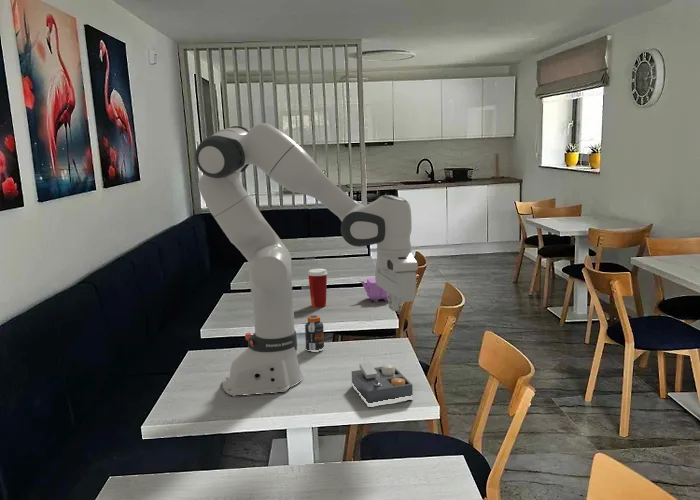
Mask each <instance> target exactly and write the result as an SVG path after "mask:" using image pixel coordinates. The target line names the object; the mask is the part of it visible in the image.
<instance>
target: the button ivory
mask: <svg viewBox="0 0 700 500" xmlns="http://www.w3.org/2000/svg"><path fill="white" fill-rule="evenodd" d="M381 367H382V375H383V376H390V375H395V368H396V366H395V365H394V364H392V363H385V364H382V365H381Z"/></svg>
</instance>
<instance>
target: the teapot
mask: <svg viewBox="0 0 700 500" xmlns="http://www.w3.org/2000/svg"><path fill="white" fill-rule="evenodd" d="M358 282H360V283H361V284H362V286H363V289H364V291H365V292H366V296H367V297H368V298H369V299H370V300H371V301H373V302H374V303H377V302H379V300H384V302H387V301H388V298H387V292H386V291H385V290H383V289H382V288H381V287H379V286H378V285H376V281H375V278H366V282H365V281H363V280H360V281H358Z"/></svg>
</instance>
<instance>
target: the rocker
mask: <svg viewBox="0 0 700 500" xmlns="http://www.w3.org/2000/svg"><path fill="white" fill-rule="evenodd" d="M374 368H375V367H374V366H373V365H372V363H371V361H368V362H367V361H366V362H360V363H359V370H361V371H362V372H363V374H364V375H365V377H366V379H370V378H376V375H377V372H376V370H375V369H374Z"/></svg>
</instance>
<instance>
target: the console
mask: <svg viewBox="0 0 700 500" xmlns="http://www.w3.org/2000/svg"><path fill="white" fill-rule="evenodd" d="M374 369H375V370H376V372H377V375H376V378H370V379H366V377H365V375H364V374H363V372H362V371H361V369H358V370H351V384H352V383H353V384H354V386H355V387H356V388H357V390H358V391H359V392H360V393H361V395H362V396H363V397H364V398H365V399H366V401H367V402H368V403H373V402H378V401H383V400H388V399H395V398H399V397H405V396H411V395H413V383H412V382H411V381H409V379H407V377H405V376H404V374H403V373H401V371H399V370H398V369H397V368H396V367H395V375H390V376H383V375H382V366H379V367H378V366H377V367H374ZM394 378H402V379H404V380H405V385H400V386H393V385H392V384H391V380H392V379H394Z"/></svg>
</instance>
